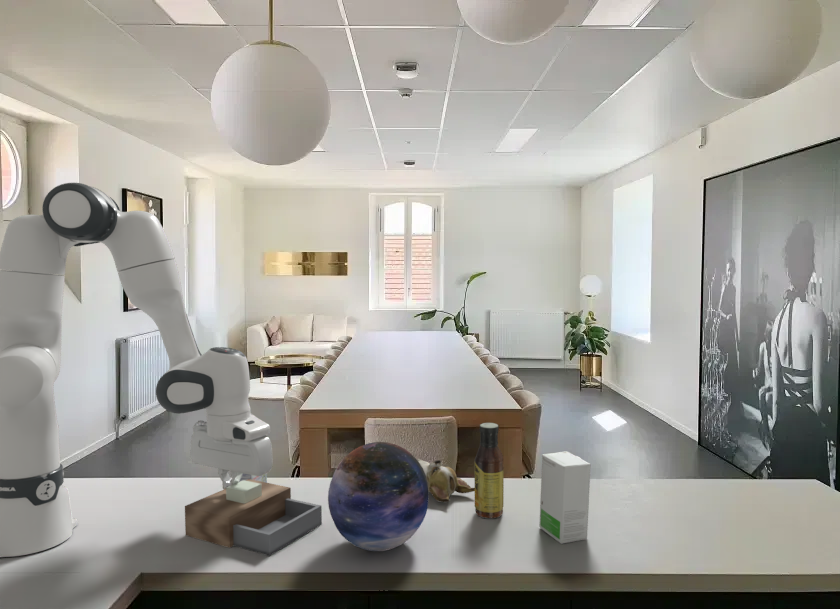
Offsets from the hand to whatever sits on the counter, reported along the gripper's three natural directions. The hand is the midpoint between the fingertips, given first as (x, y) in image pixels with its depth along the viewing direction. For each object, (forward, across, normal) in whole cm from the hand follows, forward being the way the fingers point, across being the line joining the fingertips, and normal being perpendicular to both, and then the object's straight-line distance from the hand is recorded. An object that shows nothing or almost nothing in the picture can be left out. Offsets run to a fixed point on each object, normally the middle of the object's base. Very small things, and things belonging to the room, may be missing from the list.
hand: (230, 489), depth 131 cm
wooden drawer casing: (+7, +3, 0) cm, 8 cm away
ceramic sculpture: (+8, +32, +34) cm, 47 cm away
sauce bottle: (+7, +47, +28) cm, 55 cm away
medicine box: (+7, -8, +15) cm, 18 cm away
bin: (+7, +13, 0) cm, 15 cm away
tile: (+1, +4, 0) cm, 4 cm away
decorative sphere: (+7, +34, +4) cm, 35 cm away
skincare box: (+7, +64, +26) cm, 69 cm away
